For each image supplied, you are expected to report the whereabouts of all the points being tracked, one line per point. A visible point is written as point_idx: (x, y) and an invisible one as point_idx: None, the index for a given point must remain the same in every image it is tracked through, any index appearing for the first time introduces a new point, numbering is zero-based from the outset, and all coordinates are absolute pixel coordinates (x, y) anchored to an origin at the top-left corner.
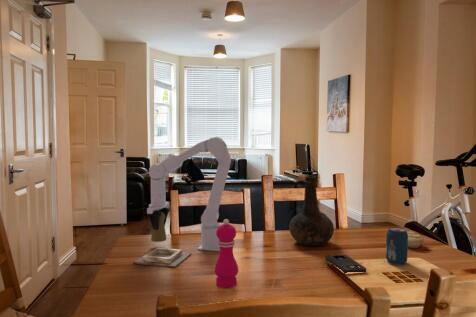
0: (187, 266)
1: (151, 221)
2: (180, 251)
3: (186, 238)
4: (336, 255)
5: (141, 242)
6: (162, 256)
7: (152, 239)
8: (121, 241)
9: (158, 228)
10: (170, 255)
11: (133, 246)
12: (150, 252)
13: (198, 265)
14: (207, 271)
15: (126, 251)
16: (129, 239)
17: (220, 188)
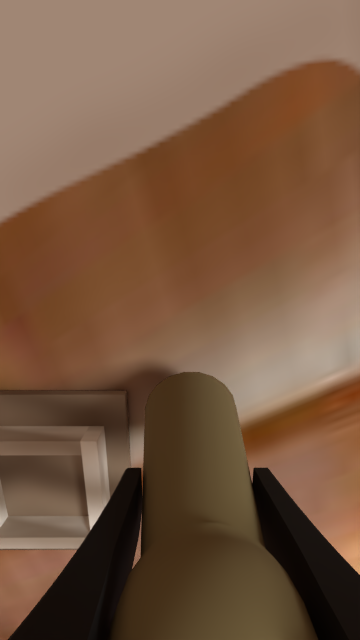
0: (20, 568)
1: (75, 565)
2: None
3: (354, 448)
4: None
5: (245, 257)
6: (54, 472)
7: (149, 401)
8: (238, 107)
9: (139, 517)
10: (79, 494)
11: (164, 253)
12: (15, 447)
13: (44, 591)
14: (9, 624)
15: (75, 265)
16: (292, 138)
17: None
